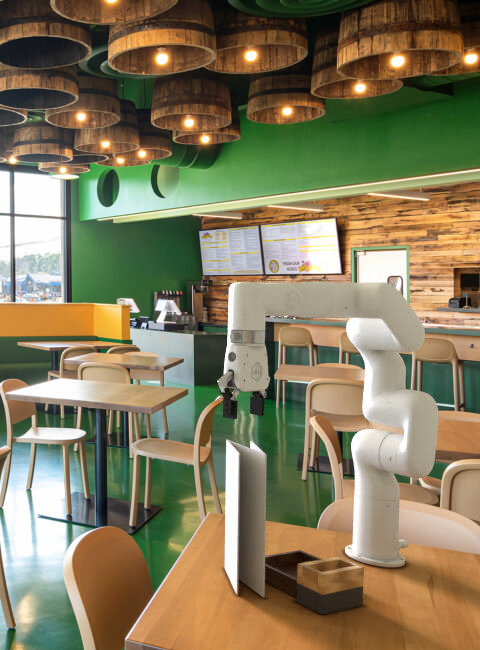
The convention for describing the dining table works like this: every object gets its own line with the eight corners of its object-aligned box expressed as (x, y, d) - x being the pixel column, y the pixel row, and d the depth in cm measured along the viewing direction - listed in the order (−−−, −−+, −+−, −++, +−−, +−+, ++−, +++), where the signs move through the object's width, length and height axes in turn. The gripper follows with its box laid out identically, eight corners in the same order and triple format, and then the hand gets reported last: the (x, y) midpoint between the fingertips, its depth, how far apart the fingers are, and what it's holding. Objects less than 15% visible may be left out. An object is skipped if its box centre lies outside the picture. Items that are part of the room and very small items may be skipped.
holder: (299, 564, 158) (299, 549, 158) (348, 586, 146) (348, 569, 146) (248, 574, 152) (249, 558, 152) (296, 597, 140) (296, 580, 140)
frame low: (336, 593, 142) (336, 574, 142) (362, 605, 137) (363, 586, 137) (296, 602, 138) (296, 582, 138) (321, 614, 132) (322, 594, 132)
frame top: (336, 574, 142) (337, 556, 142) (363, 586, 137) (364, 566, 137) (296, 582, 138) (297, 563, 138) (322, 594, 132) (323, 574, 132)
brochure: (264, 597, 139) (266, 455, 138) (236, 595, 140) (238, 453, 140) (249, 570, 153) (251, 440, 152) (224, 568, 154) (226, 439, 153)
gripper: (237, 340, 137) (234, 422, 137) (284, 339, 147) (282, 416, 147) (206, 337, 144) (203, 416, 144) (254, 337, 153) (251, 411, 153)
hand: (243, 416), depth 145 cm, fingers open, 9 cm apart
